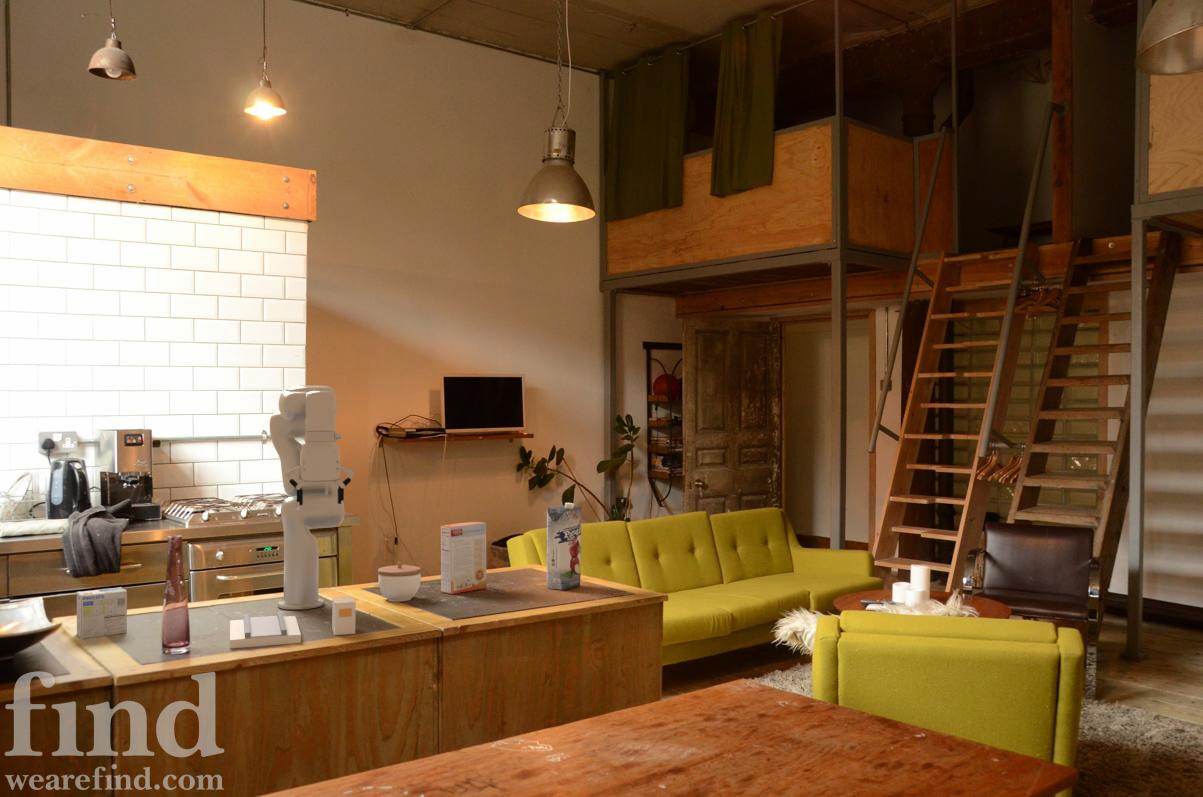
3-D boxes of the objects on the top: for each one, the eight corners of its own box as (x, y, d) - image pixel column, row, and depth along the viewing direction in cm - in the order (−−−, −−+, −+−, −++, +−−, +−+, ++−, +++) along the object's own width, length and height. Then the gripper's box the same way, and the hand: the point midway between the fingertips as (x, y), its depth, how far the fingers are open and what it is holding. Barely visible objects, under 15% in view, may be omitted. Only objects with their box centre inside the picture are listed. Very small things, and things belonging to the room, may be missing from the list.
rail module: (332, 629, 246) (332, 598, 246) (352, 627, 248) (352, 596, 248) (334, 635, 239) (335, 603, 239) (355, 633, 241) (355, 602, 241)
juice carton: (542, 588, 302) (543, 503, 302) (561, 583, 311) (561, 500, 311) (566, 591, 297) (566, 504, 297) (584, 586, 306) (584, 502, 306)
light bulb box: (121, 628, 245) (122, 586, 246) (128, 633, 240) (128, 590, 240) (75, 634, 239) (75, 591, 239) (80, 639, 234) (80, 595, 234)
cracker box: (475, 586, 305) (475, 520, 306) (487, 588, 301) (487, 522, 301) (439, 592, 295) (439, 524, 296) (451, 594, 291) (451, 526, 291)
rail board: (229, 628, 246) (230, 615, 246) (295, 623, 251) (295, 610, 252) (229, 648, 225) (230, 634, 225) (300, 642, 231) (300, 628, 231)
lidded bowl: (414, 593, 293) (415, 557, 293) (425, 601, 281) (426, 563, 281) (373, 597, 287) (373, 560, 287) (382, 605, 276) (383, 566, 276)
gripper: (352, 438, 256) (353, 502, 255) (284, 439, 250) (284, 504, 249) (355, 438, 249) (355, 504, 248) (286, 438, 243) (285, 506, 242)
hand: (320, 504), depth 248 cm, fingers open, 9 cm apart
